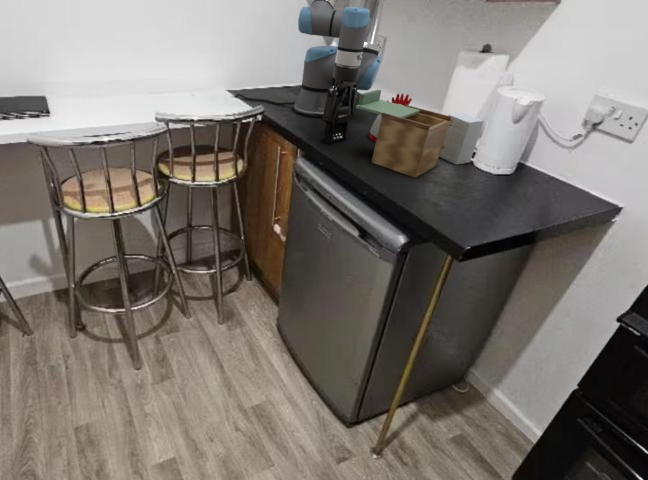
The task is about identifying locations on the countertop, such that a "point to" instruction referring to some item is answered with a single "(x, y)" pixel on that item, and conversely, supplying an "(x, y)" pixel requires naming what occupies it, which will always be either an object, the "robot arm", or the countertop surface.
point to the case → (410, 141)
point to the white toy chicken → (376, 124)
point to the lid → (383, 105)
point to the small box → (461, 138)
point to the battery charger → (340, 122)
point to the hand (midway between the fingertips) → (334, 139)
